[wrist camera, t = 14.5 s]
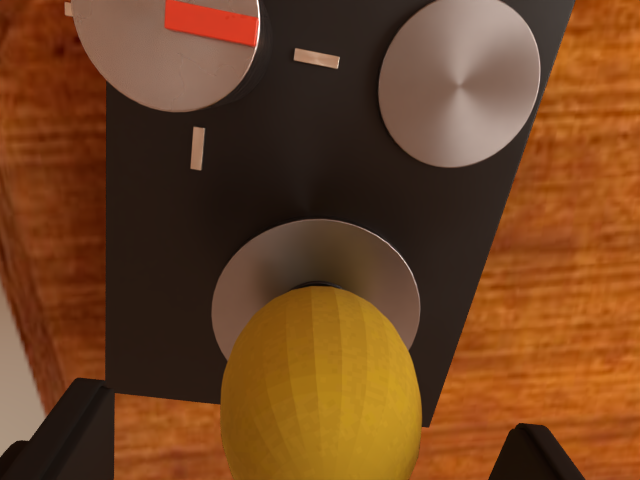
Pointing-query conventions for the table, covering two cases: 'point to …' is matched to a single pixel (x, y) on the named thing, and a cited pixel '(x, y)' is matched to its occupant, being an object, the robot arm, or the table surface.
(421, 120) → the burners
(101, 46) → the hob knob
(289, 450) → the lemon
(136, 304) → the hob
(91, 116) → the table surface
